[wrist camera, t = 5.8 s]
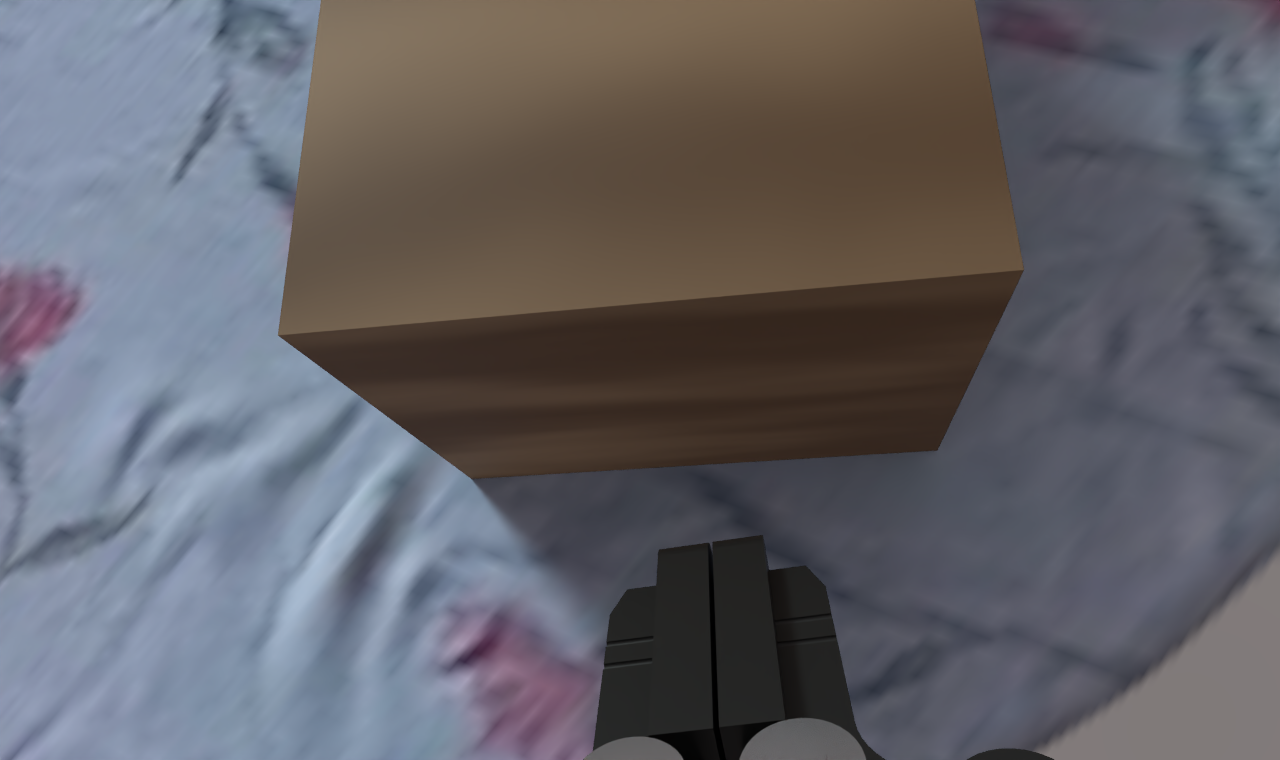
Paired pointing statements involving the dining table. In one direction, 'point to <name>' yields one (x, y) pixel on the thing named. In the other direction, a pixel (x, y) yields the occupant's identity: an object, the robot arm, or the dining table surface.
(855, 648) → the dining table surface
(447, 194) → the walnut block
